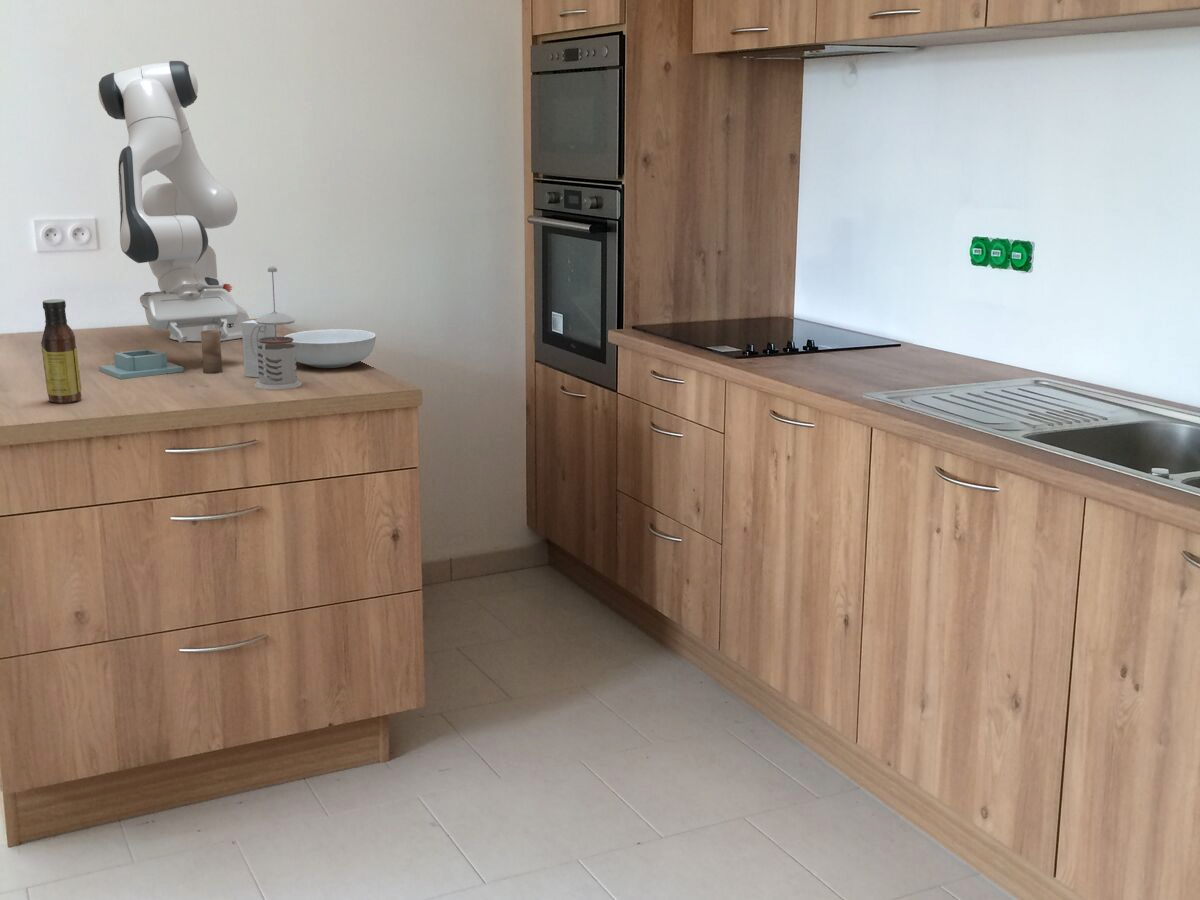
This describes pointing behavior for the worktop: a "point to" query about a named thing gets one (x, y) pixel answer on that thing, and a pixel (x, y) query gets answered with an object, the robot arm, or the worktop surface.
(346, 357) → the serving bowl
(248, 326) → the skincare box
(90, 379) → the worktop surface
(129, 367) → the holder
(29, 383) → the worktop surface
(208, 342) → the brown cylinder
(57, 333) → the sauce bottle
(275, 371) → the french press
